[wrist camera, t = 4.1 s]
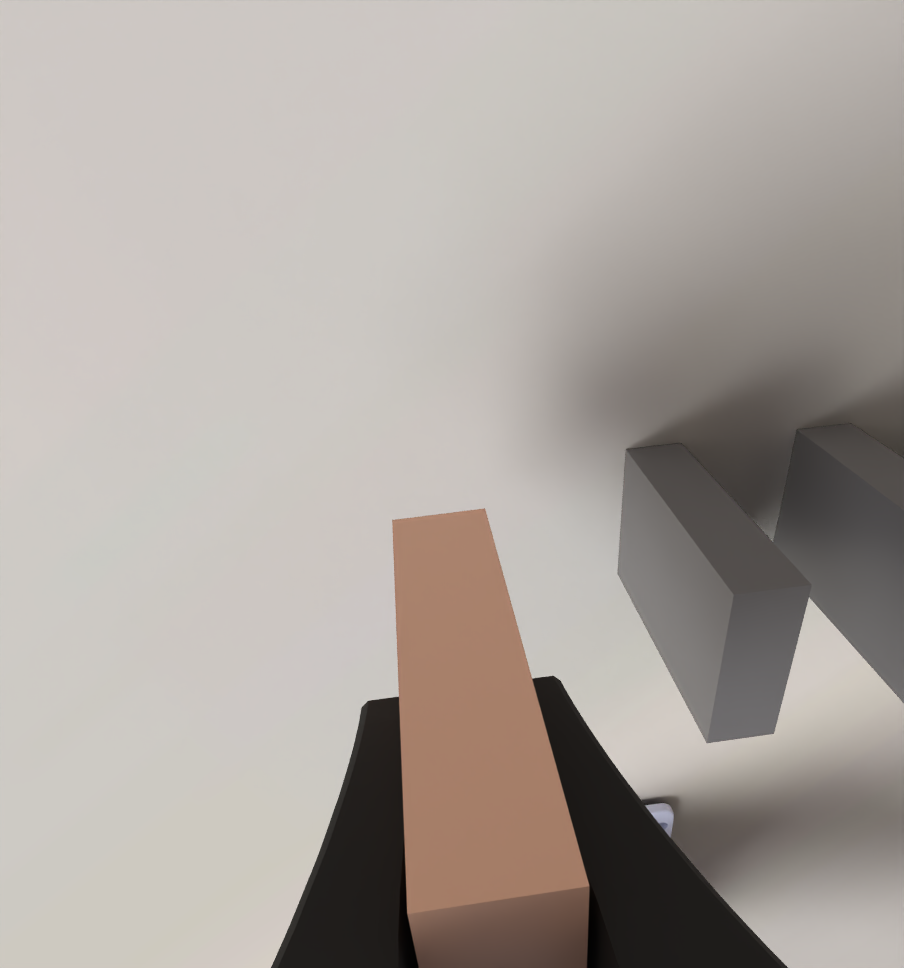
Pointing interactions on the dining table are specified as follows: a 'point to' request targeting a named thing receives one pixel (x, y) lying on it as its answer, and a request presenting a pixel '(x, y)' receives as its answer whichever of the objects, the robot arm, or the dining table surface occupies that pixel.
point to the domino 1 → (477, 765)
